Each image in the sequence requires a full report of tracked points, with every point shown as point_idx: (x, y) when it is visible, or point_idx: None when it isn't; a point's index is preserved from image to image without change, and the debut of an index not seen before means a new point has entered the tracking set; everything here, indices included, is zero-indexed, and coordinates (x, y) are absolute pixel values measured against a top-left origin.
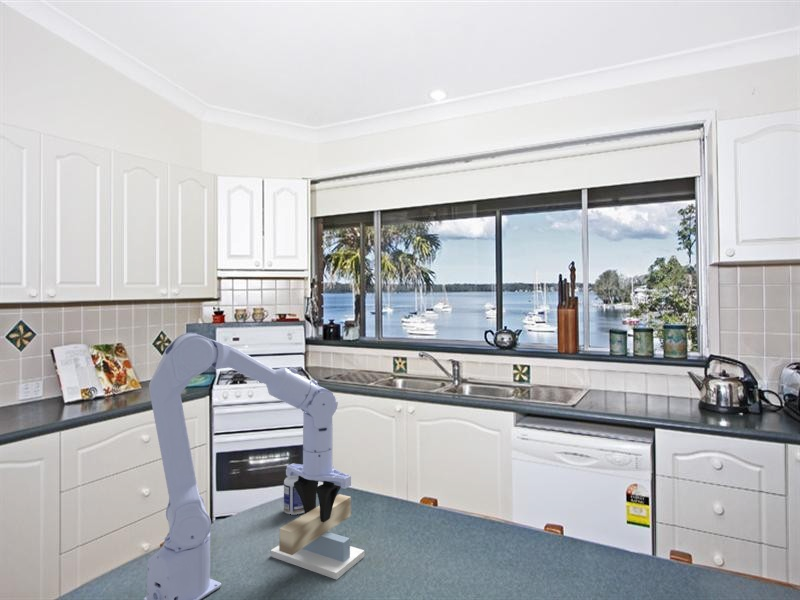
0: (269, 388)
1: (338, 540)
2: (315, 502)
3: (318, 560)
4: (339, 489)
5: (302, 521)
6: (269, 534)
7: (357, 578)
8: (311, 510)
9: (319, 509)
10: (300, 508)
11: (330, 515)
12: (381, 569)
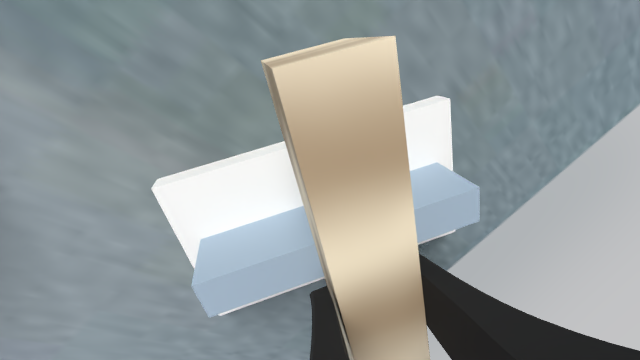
0: None
1: (455, 225)
2: (338, 328)
3: None
4: (605, 342)
5: None
6: (47, 258)
7: (482, 181)
8: (351, 336)
9: (374, 303)
10: None
11: (427, 259)
12: (514, 107)
